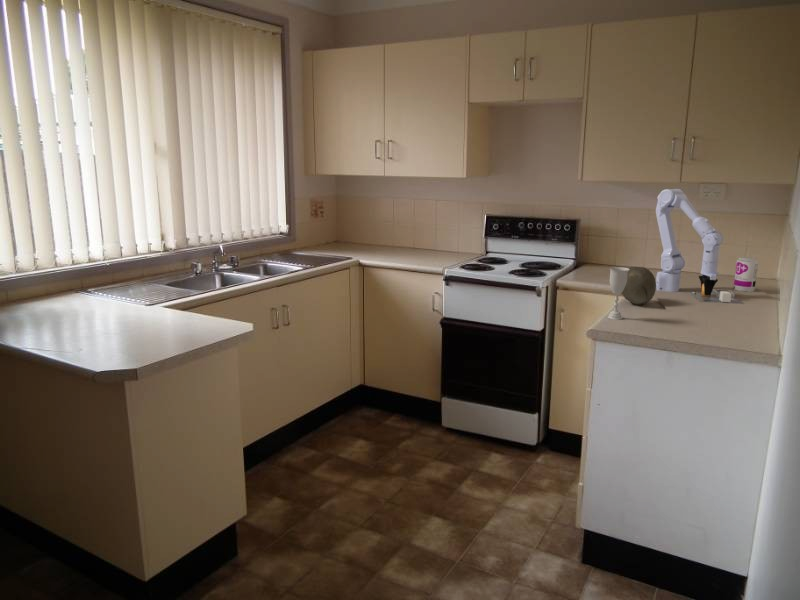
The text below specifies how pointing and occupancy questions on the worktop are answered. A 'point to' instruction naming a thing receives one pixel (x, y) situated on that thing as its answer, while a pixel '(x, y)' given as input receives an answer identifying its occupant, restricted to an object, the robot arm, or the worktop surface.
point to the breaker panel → (713, 299)
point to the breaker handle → (725, 296)
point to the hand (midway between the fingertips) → (706, 294)
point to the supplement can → (745, 274)
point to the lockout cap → (703, 292)
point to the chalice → (617, 287)
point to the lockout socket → (717, 293)
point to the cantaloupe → (639, 285)
